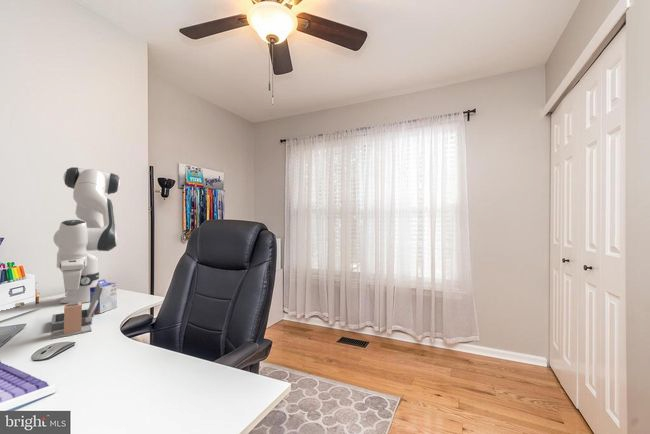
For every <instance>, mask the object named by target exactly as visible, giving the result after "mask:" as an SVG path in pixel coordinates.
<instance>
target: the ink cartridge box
mask: <svg viewBox="0 0 650 434" xmlns="http://www.w3.org/2000/svg"><path fill="white" fill-rule="evenodd" d="M98 282H102V283H100V284H101V286H102V288H103V289H102V292H101V295H100V298H99V301H98V304H97V307H96V310H95V313H94V314H95V315H96V314H98V315H99V314H100V315H101V314H102V313H105V312H108V311H110V310H112V309H115V308H117V307H118V288H117V287H118V283H117V282H107V281H106V279H99V281H98ZM95 289H96V286H94V287H91V288H90V303H91V300H92V297H93V294H94V291H95ZM90 303H89V304H90Z"/></svg>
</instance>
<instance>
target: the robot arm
mask: <svg viewBox="0 0 650 434" xmlns="http://www.w3.org/2000/svg"><path fill="white" fill-rule="evenodd" d="M63 182H64V185H65V186H66V187H67V188H70V189H73V192H72V193H73V195H72V198H73V200H74V201H75V202H76V206H75V207H76V208H75V215H76V217H77V218H78V219H69V220H63V221H61V222H60V225H59V228H58V230H56V232H55V233H54V235H53V243H54V244H55V246H56V247H58V252H56V268H57V269H59V270H60V271H61V272H62V279H63V286H64V293H65V294H64V297H63V298H62V299H61V300H60V304H68V303H73V302H78V303H79V302H81V303H82V304H83V303H84V304H85V303H89V302H90V288H91V287H94V286H97V283H98V281H99V280H100V272H99V259H98V257H97V256H95V254H91V253H90V251H99V252H101V251H102V252H109V251H112V250H113V249H115V247H117V245H118V242H119V238H118V237H119V236H118V233H117V230H116V223H115V212H114V206H113V203H112V200H111V199H109V198H108V197H107V196H106V193H107V195H111V194H115V193H117V192H118V191H119V190H120V187H121V184H122V183H121V179H120V176H119V175H118V174H115V173H112V172H106V171H103V170H98V169H94V168H81V167H80V168H79V167H74V166H73V167H70V168H67V169H66V171H65V172H64V174H63ZM100 283H103V281H101V282H100Z"/></svg>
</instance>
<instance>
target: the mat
mask: <svg viewBox="0 0 650 434" xmlns="http://www.w3.org/2000/svg"><path fill="white" fill-rule="evenodd" d="M91 325H92V324H91ZM91 325H90V324H89V325H83V326H81V331H78V332H73V333H68V334H64V329H62V330H57V331H53V332H52V340H55V339H60V338H66V337H71V336H75V335H79V334H86V333H90V332H92V326H91Z"/></svg>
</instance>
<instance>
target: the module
mask: <svg viewBox="0 0 650 434" xmlns="http://www.w3.org/2000/svg"><path fill="white" fill-rule="evenodd" d="M82 305H83V303H81V302H79V303H78V302H73V303H64V305H63V313H64V334H68V333H73V332H78V331H81V326H82V318H83V317H82V310H83V306H82Z"/></svg>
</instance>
